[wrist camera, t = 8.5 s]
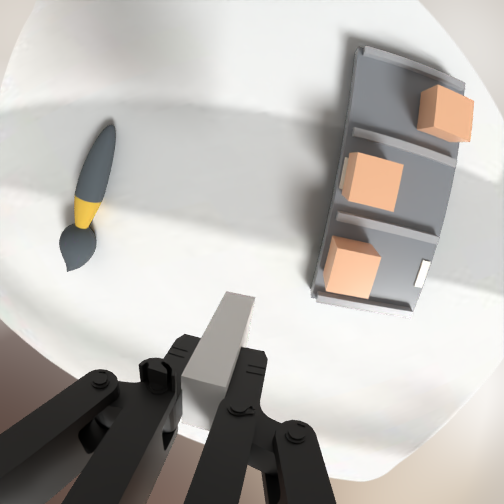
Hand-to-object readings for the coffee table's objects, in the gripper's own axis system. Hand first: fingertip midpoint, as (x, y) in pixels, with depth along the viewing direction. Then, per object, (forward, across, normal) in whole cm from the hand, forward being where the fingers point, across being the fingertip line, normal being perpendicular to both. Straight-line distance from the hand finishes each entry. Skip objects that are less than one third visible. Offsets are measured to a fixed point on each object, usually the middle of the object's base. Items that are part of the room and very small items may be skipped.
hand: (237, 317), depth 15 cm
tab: (+14, +14, +16) cm, 26 cm away
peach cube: (+14, +8, +8) cm, 18 cm away
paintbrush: (+17, -22, +1) cm, 28 cm away
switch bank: (+17, +12, +8) cm, 22 cm away
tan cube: (+14, +8, 0) cm, 17 cm away
